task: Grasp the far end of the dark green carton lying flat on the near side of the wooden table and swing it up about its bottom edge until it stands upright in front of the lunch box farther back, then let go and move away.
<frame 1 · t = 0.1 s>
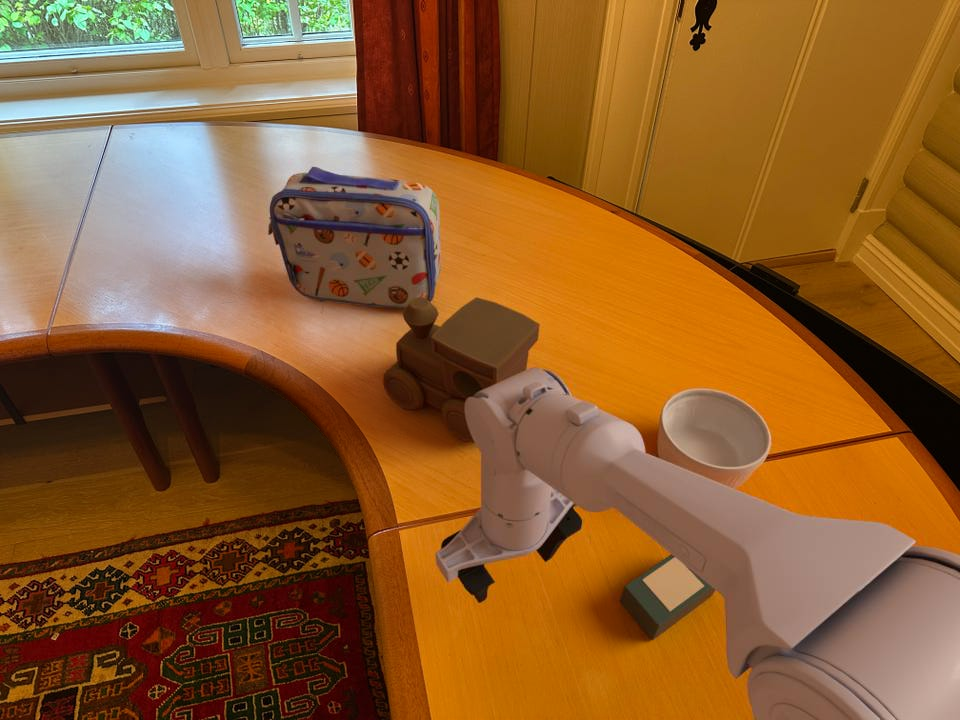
hand: (510, 572, 58), 9 cm above the table, tool pointing down, fingers open, 7 cm apart
ramekin: (700, 461, 80), on the table
wooden toy train: (456, 404, 87), on the table
carton: (669, 590, 64), point 2 cm above the table, hinge at 0.0°
lunch box: (365, 294, 106), on the table
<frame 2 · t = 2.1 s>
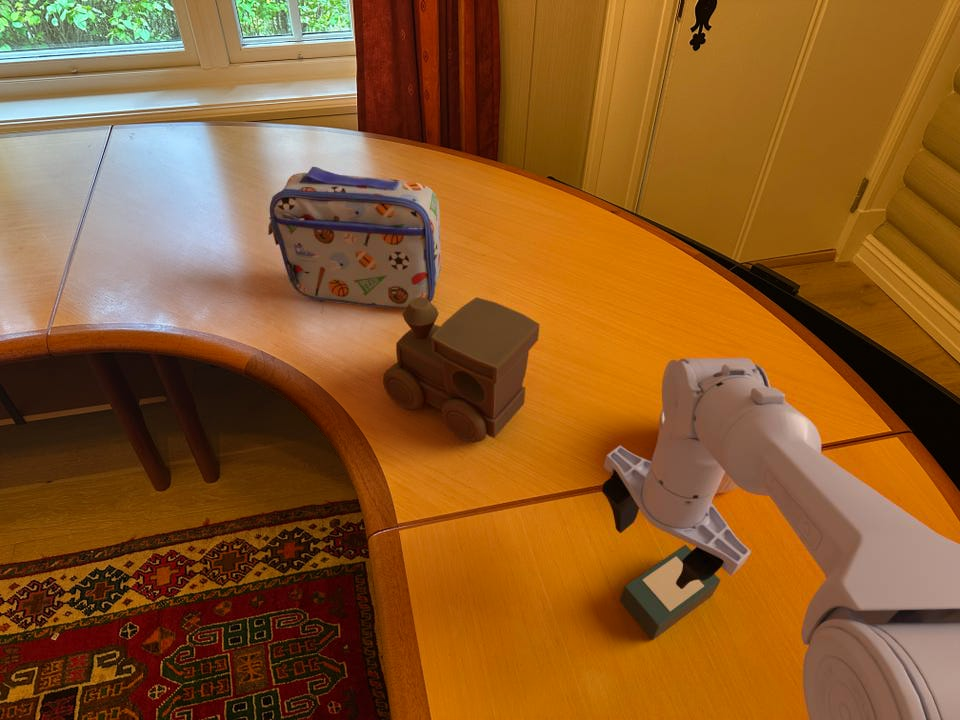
hand: (653, 552, 60), 9 cm above the table, tool pointing down, fingers open, 7 cm apart
nothing on the table moved.
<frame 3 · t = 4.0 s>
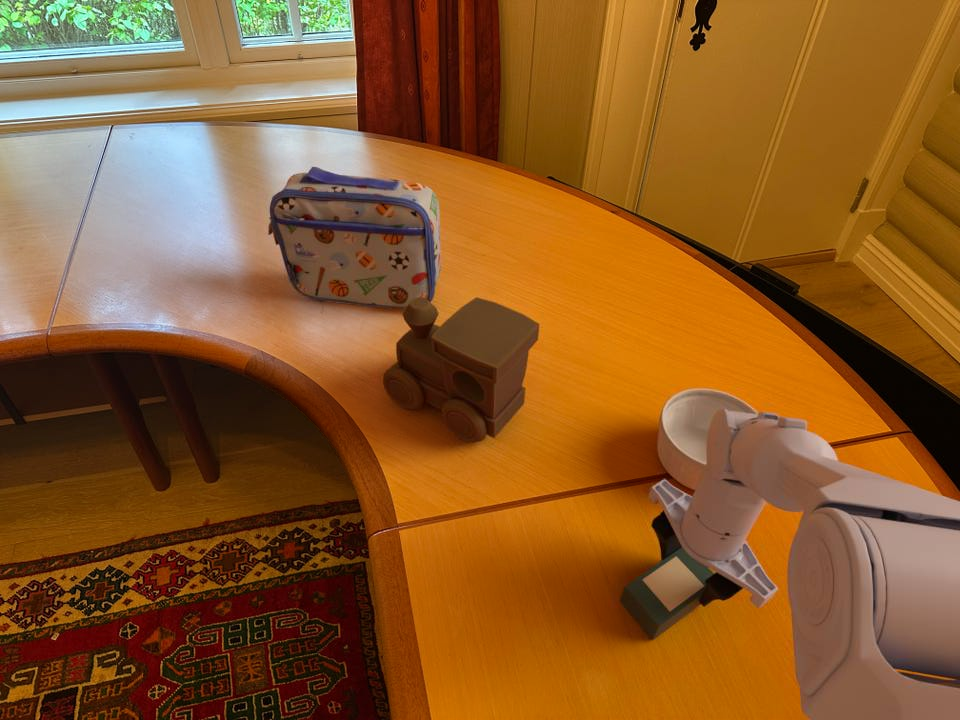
hand: (688, 578, 66), 1 cm above the table, tool pointing down, fingers closed on carton, 5 cm apart
carton: (669, 590, 64), point 2 cm above the table, hinge at 0.0°, touching gripper
everything else where it was.
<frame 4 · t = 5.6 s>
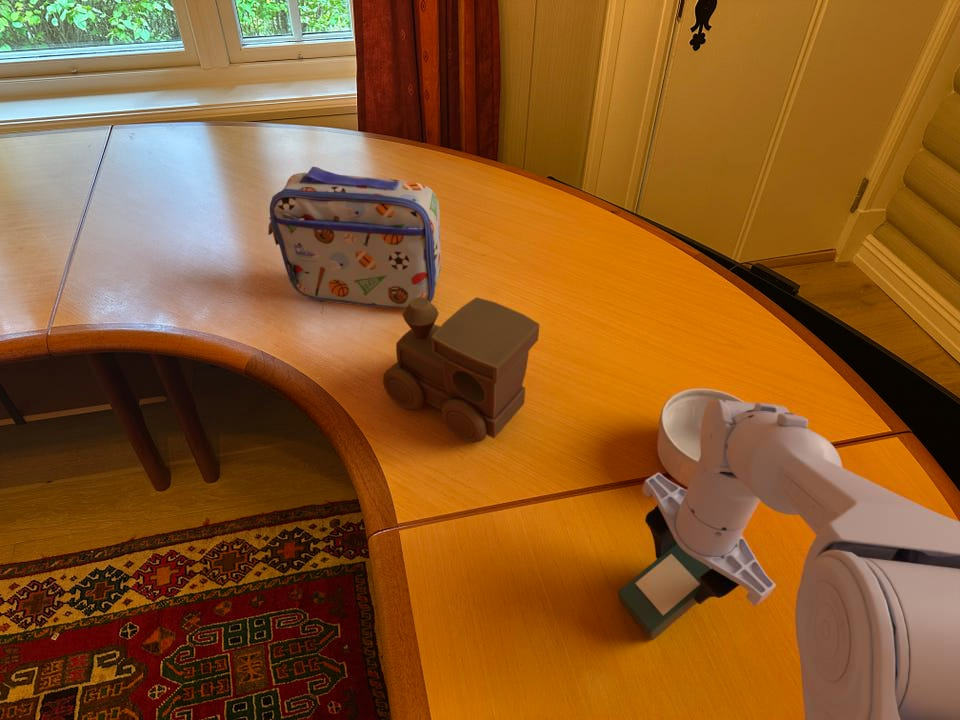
hand: (683, 575, 64), 4 cm above the table, tool pointing down, fingers closed on carton, 5 cm apart
carton: (667, 589, 63), point 3 cm above the table, hinge at 16.0°, touching gripper
everything else where it was.
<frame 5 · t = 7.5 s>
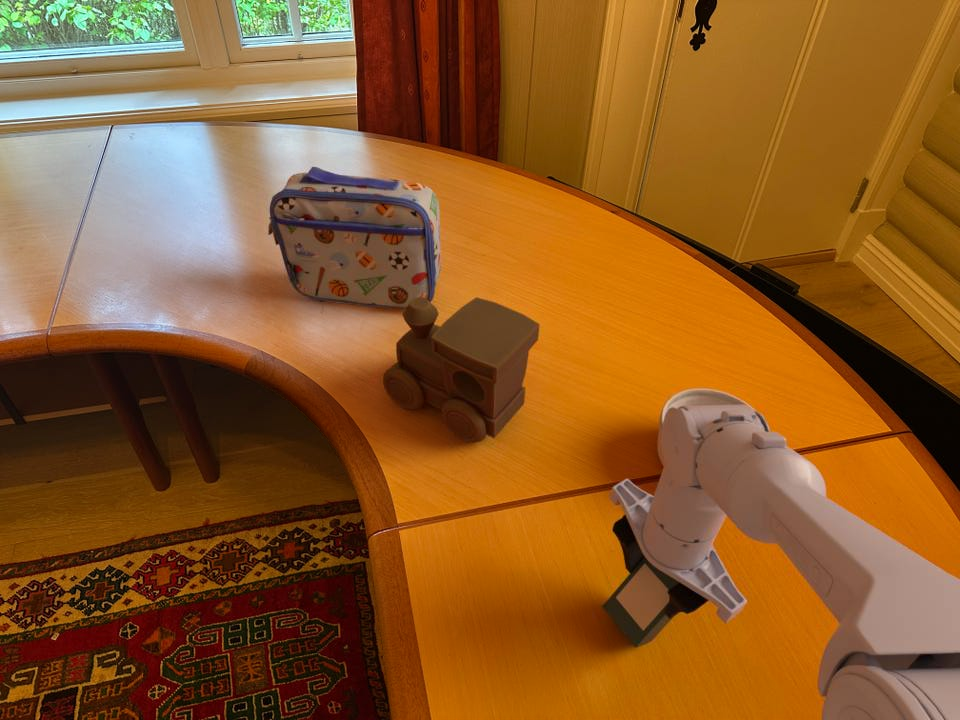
hand: (654, 587, 60), 6 cm above the table, tool pointing down, fingers closed on carton, 5 cm apart
carton: (652, 594, 61), point 5 cm above the table, hinge at 52.8°, touching gripper
everything else where it was.
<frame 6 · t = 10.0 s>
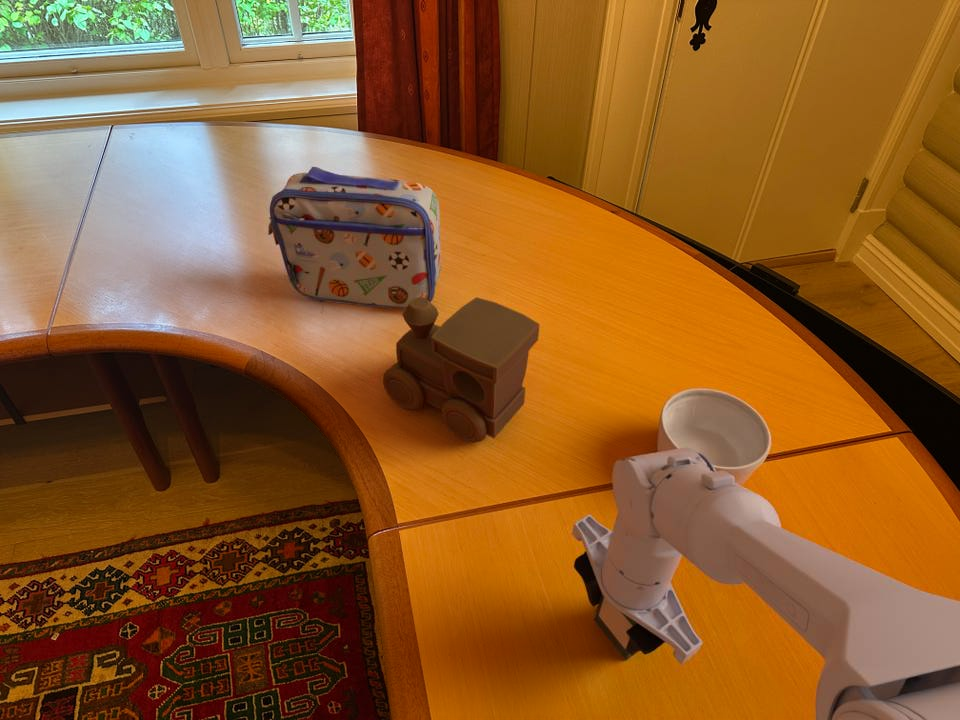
hand: (617, 622, 60), 4 cm above the table, tool pointing down, fingers closed on carton, 5 cm apart
carton: (628, 611, 60), point 4 cm above the table, hinge at 90.4°, touching gripper
everything else where it was.
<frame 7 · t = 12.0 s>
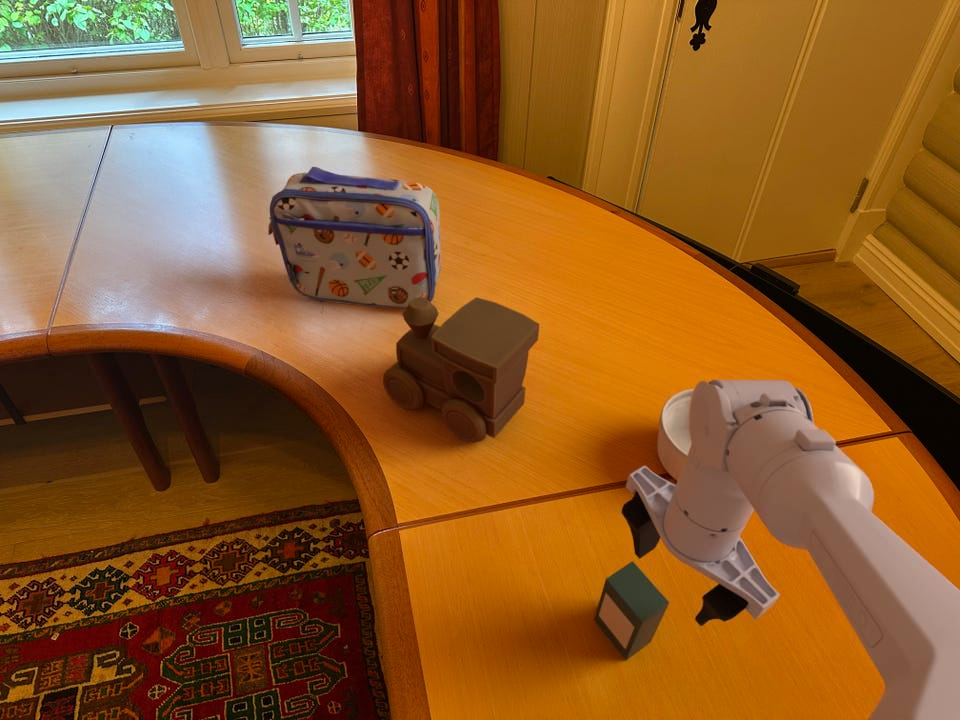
hand: (673, 582, 56), 10 cm above the table, tool pointing down, fingers open, 7 cm apart
carton: (629, 611, 60), point 4 cm above the table, hinge at 90.0°
everything else where it was.
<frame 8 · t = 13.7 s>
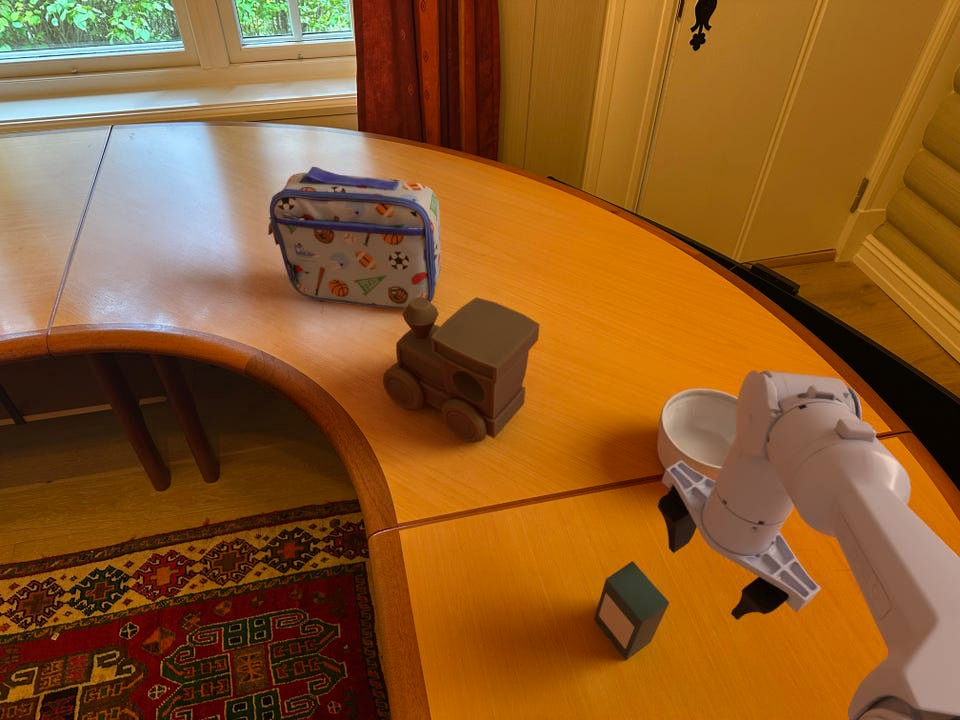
hand: (708, 577, 57), 10 cm above the table, tool pointing down, fingers open, 7 cm apart
nothing on the table moved.
at the end: carton at +90° (first picture: +0°); the gripper is holding nothing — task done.
